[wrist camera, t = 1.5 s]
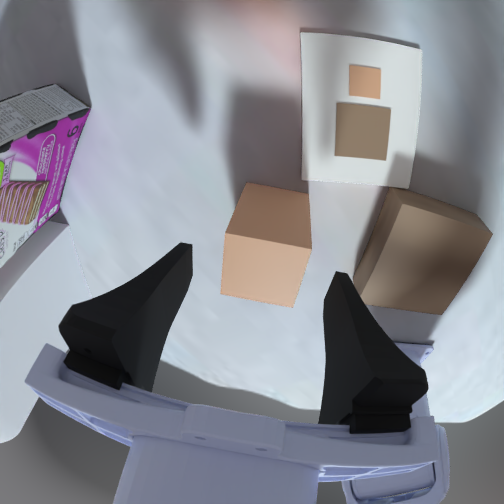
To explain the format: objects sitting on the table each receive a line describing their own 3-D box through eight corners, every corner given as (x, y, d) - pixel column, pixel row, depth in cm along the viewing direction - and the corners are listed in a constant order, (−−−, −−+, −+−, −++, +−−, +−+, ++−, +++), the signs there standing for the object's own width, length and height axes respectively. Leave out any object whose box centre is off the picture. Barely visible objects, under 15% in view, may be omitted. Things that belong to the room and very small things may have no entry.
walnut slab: (431, 289, 21) (441, 314, 19) (352, 275, 21) (356, 302, 19) (474, 212, 16) (492, 234, 14) (388, 182, 16) (402, 203, 14)
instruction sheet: (407, 186, 16) (409, 189, 16) (301, 178, 17) (301, 180, 17) (420, 50, 11) (422, 49, 10) (300, 33, 12) (300, 32, 11)
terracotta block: (295, 244, 20) (292, 307, 15) (240, 233, 20) (220, 293, 15) (308, 193, 17) (311, 249, 13) (246, 182, 18) (225, 233, 13)
